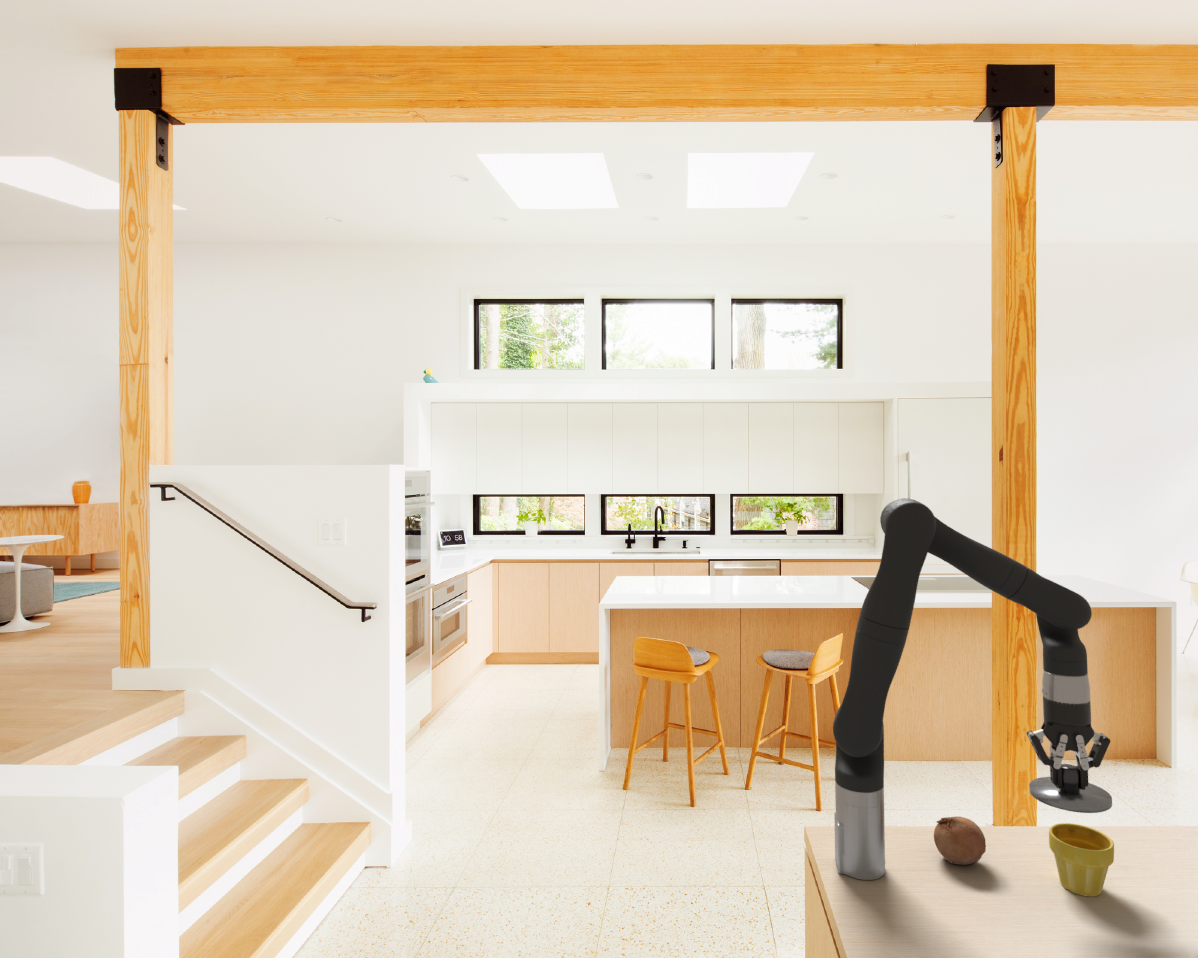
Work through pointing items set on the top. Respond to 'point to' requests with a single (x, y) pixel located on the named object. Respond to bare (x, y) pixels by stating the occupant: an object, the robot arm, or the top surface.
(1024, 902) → the top surface
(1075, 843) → the plant pot
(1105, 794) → the lid
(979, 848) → the onion
